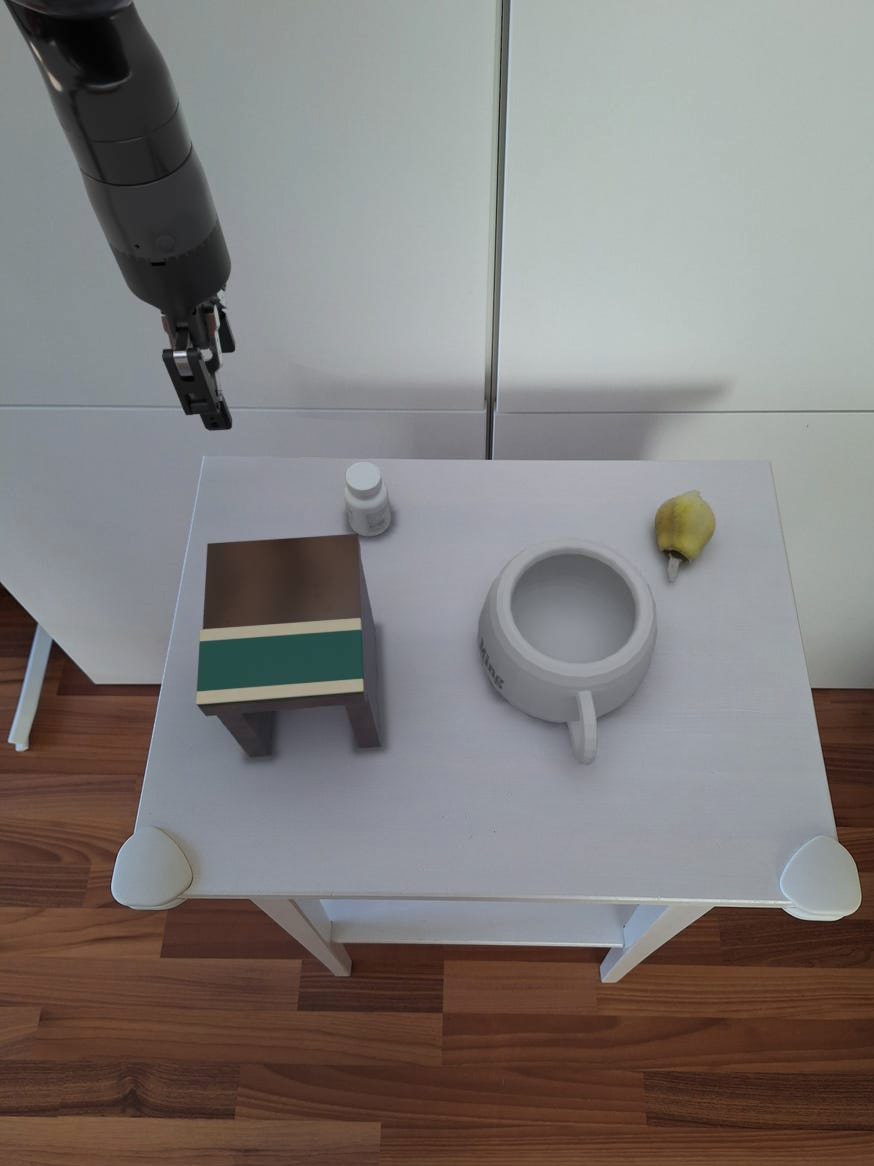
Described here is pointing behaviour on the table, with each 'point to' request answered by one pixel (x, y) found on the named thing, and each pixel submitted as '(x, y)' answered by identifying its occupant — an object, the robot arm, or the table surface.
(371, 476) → the pill bottle
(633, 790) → the table surface
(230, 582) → the stool
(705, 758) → the table surface
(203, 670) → the towel
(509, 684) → the mug
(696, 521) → the fruit
